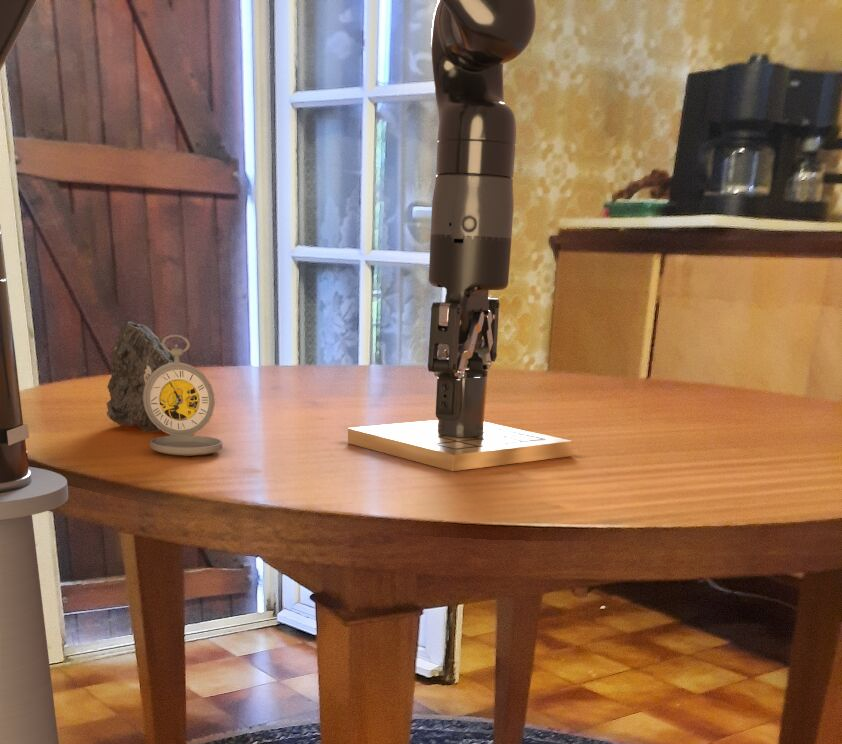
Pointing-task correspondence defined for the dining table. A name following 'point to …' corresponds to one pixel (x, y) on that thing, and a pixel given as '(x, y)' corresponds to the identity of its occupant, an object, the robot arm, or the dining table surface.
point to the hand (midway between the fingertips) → (461, 413)
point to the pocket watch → (180, 406)
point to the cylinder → (468, 409)
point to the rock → (136, 376)
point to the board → (459, 445)
